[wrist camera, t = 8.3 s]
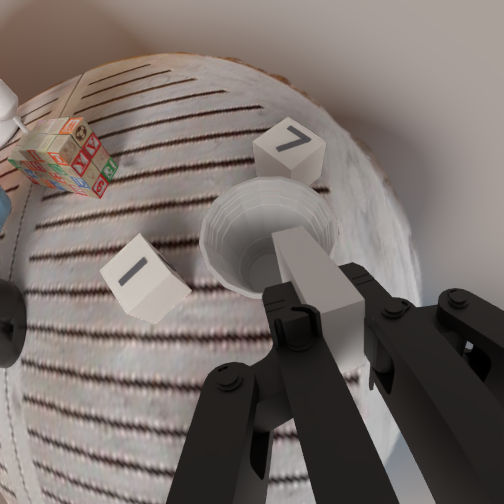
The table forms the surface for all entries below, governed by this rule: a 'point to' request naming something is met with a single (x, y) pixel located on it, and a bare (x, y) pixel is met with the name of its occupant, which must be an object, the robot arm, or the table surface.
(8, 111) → the champagne flute
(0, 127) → the flower in vase
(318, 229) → the plastic cup
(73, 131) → the stack of blocks
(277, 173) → the marked block 7
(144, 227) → the table surface
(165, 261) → the marked block 1
